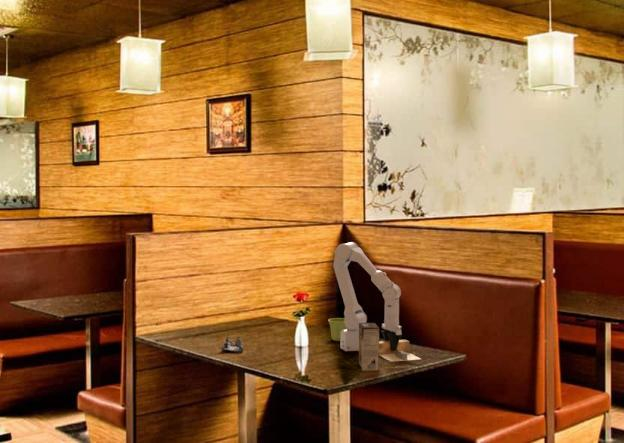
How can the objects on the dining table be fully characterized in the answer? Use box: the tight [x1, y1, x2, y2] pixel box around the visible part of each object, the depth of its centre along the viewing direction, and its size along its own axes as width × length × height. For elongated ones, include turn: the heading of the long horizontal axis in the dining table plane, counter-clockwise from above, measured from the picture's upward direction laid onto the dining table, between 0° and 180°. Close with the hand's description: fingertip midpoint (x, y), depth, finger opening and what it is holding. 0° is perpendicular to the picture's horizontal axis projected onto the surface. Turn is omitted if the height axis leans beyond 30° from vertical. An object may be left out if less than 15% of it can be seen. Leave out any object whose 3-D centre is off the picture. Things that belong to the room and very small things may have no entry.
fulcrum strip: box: [395, 350, 407, 360], centre depth 313 cm, size 2×7×2 cm, turn 19°
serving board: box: [379, 351, 422, 363], centre depth 316 cm, size 13×16×1 cm
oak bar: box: [379, 339, 410, 354], centre depth 322 cm, size 14×4×4 cm, turn 109°
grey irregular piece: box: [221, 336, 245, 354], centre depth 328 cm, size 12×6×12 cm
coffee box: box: [358, 322, 380, 372], centre depth 300 cm, size 9×6×16 cm
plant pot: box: [327, 317, 347, 342], centre depth 350 cm, size 9×9×9 cm
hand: (391, 349), depth 322 cm, fingers closed on oak bar, 4 cm apart
